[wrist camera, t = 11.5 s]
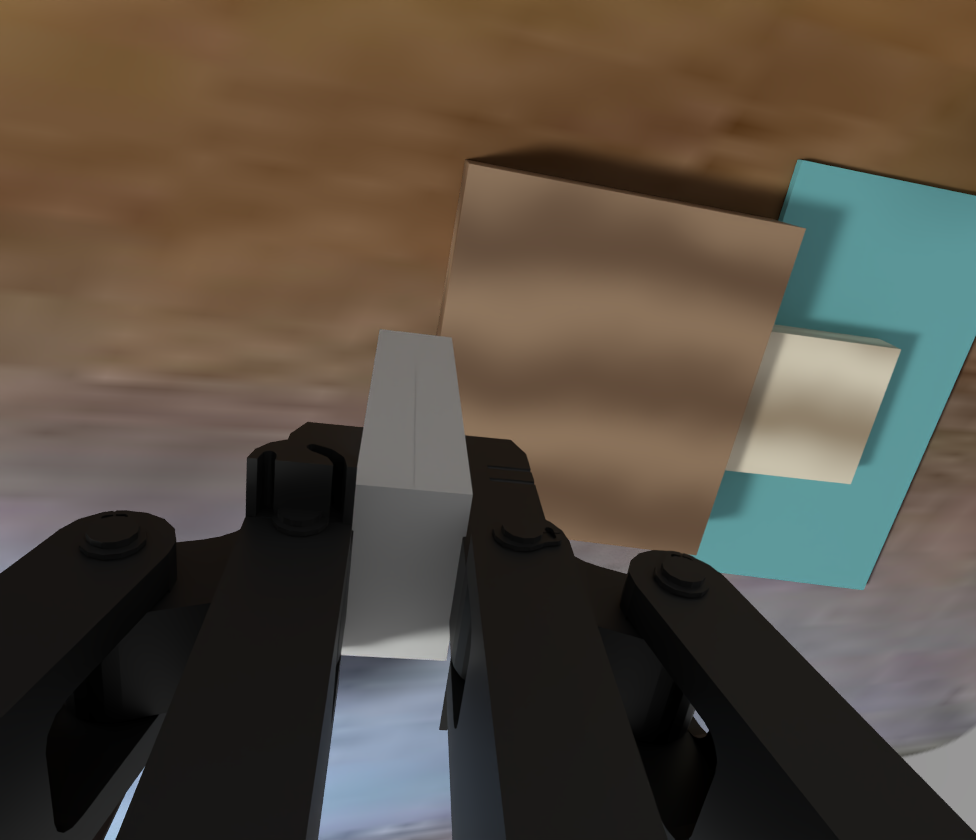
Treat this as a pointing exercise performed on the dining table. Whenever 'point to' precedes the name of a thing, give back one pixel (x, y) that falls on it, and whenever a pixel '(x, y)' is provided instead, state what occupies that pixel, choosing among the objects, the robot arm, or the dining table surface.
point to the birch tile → (812, 405)
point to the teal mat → (868, 313)
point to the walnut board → (611, 343)
